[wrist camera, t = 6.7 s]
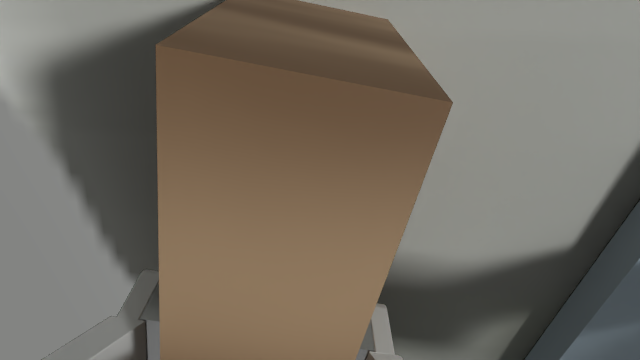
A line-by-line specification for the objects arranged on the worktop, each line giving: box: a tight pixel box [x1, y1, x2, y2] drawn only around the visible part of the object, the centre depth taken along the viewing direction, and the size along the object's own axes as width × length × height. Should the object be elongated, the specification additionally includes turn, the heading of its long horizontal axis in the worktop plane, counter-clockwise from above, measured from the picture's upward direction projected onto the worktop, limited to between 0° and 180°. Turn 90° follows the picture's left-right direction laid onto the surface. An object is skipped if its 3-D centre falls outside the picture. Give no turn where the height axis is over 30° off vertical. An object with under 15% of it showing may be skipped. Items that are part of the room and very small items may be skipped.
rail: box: [156, 0, 453, 360], centre depth 11 cm, size 15×4×6 cm, turn 169°
